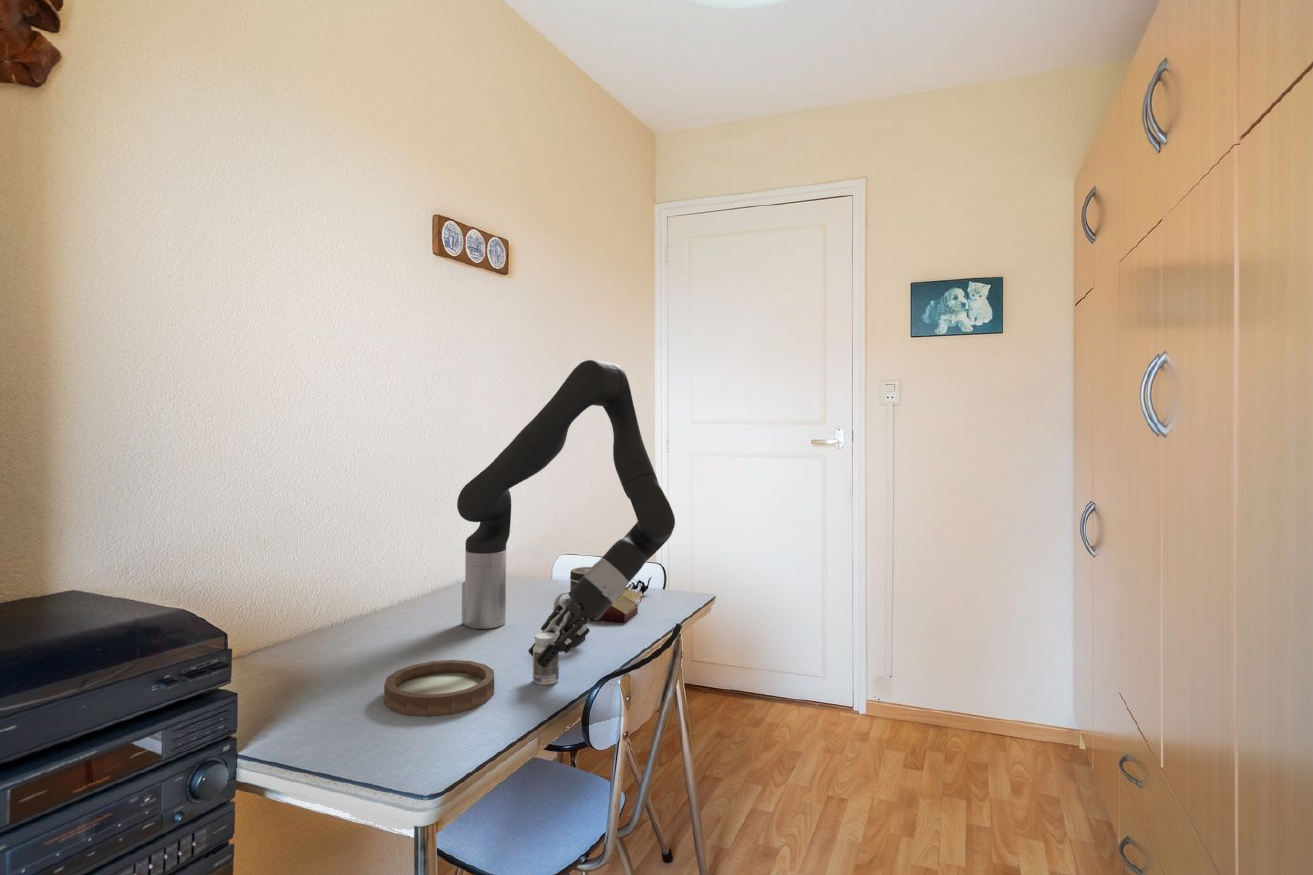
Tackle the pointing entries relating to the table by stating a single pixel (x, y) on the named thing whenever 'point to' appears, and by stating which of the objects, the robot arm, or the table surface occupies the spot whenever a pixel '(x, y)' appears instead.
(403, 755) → the table surface
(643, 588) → the creature
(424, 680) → the ring tray
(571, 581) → the jar
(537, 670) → the pill bottle
